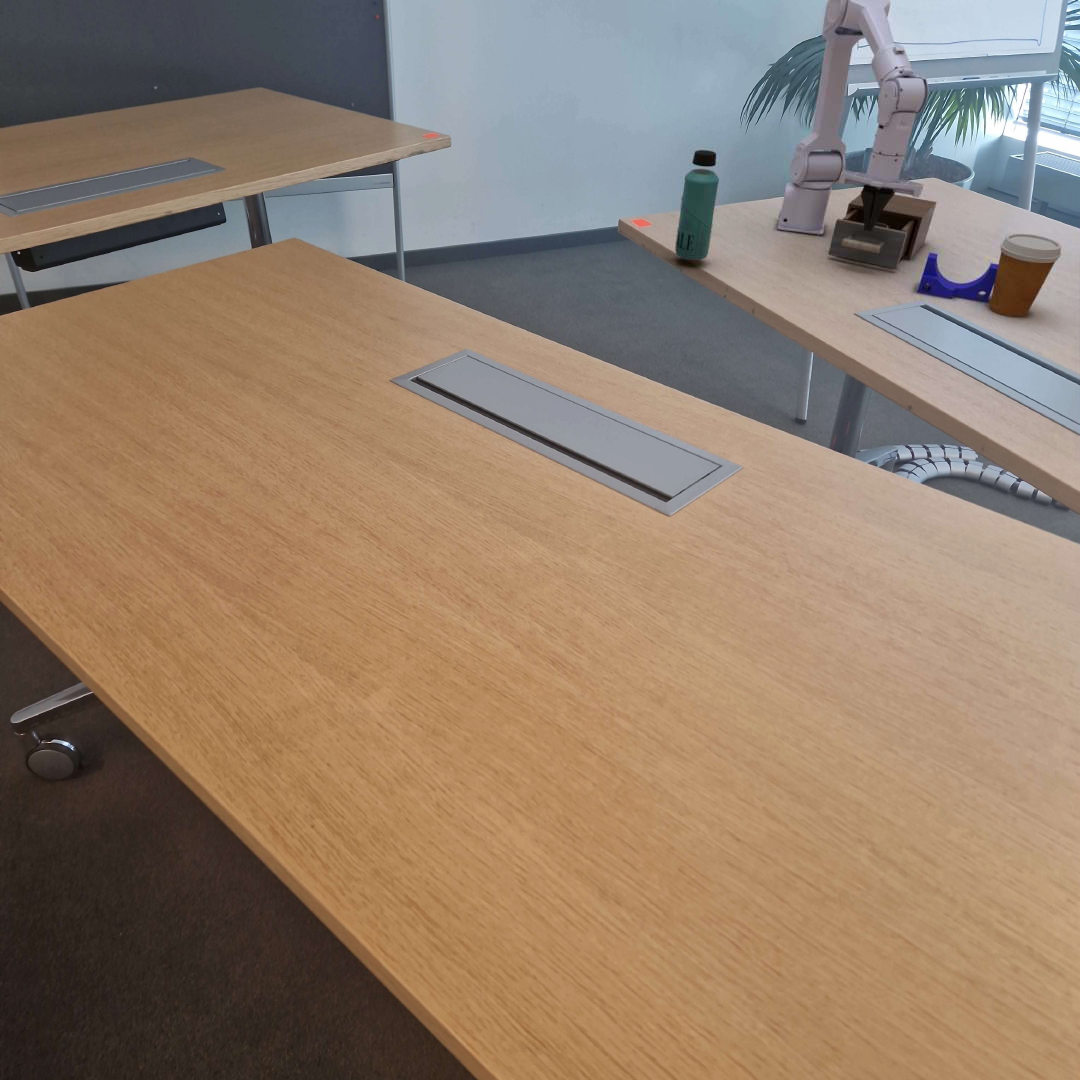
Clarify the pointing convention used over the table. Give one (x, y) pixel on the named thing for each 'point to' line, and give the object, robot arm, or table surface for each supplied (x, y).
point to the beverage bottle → (697, 208)
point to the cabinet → (906, 209)
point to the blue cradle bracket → (949, 289)
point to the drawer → (872, 239)
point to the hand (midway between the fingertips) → (868, 229)
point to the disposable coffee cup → (1022, 272)
